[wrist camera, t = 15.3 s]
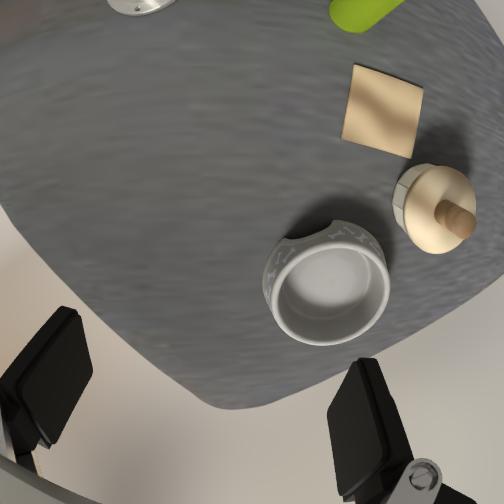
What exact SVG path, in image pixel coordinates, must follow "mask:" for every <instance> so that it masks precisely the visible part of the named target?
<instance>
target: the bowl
mask: <svg viewBox="0 0 504 504" xmlns="http://www.w3.org/2000/svg"><path fill="white" fill-rule="evenodd" d="M431 167H435V165H432V164H428V163H425V164H419V165H416V166H413V167H411V168H410V169H408V170H407V171H406V172H405V173H404V174H403V175H402V176H401V177H400V179H399V180H398V182H397V184H396V186H395V189H394V192H393V198H392V208H393V213H394V216H395V219H396V221H397V223H398V224H399V225H400V227H401V228H402V229H403V230H404V231H405V232H406V230H405V227H404V222H403V205H404V200H405V197H406V194H407V191H408V189H409V187H410V186H411V184H412V182H413V181H414V180H415V179H416V177H417V176H418V175H419V174H421V173H422V172H423V171H425V170H427V169H429V168H431ZM406 233H407V232H406Z"/></svg>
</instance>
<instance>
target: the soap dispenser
mask: <svg viewBox="0 0 504 504" xmlns="http://www.w3.org/2000/svg"><path fill="white" fill-rule="evenodd" d="M403 1H405V0H332V2H331V3H330V6H329V14H330V17H331V19H332V20H333V22H334V23H335V24H336V25H337V26H338V27H340V28H341V29H343V30H345V31H347V32H351V33H362V32H365V31H367V30H368V29H369V28H371V27H372V26H373V25H374V24H375V23H377V22H378V21H379V20H380V19H382V18H383V17H384V16H385V15H387V14H388V13H389V12H390V11H392V10H393V9H394V8H396V7H397V6H398V5H399V4H401V3H402V2H403Z"/></svg>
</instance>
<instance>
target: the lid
mask: <svg viewBox="0 0 504 504" xmlns="http://www.w3.org/2000/svg"><path fill="white" fill-rule="evenodd" d="M475 212H476V198H475V193H474V190H473V187H472V185H471V183H470V181H469V180H468V179H467V177H466V176H465V175H464V174H463V173H461V172H460V171H458V170H456V169H453V168H450V167H447V166H435V167H431V168H429V169H427V170H425V171H423V172H422V173H421V174H419V175H418V176H417V177H416V179H415V180H414V181H413V182H412V184H411V186H410V187H409V189H408V191H407V194H406V197H405V200H404V205H403V222H404V227H405V230H406V232H407V234H408V236H409V237H410V239H411V240H412V241H413V242H414V243H415V244H416V245H417V246H418V247H419V248H421V249H422V250H424V251H426V252H428V253H433V254H440V253H445V252H448V251H450V250H452V249H453V248H455V247H456V246H458V245H459V244H460V243H461V242H462V241H463V240H464V239H467V238H468V237H470V236H471V235H472V233H473V232H474V230H475V227H476V219H475Z"/></svg>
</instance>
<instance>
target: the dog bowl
mask: <svg viewBox="0 0 504 504" xmlns="http://www.w3.org/2000/svg"><path fill="white" fill-rule="evenodd" d="M262 284H263V292H264V296H265V299H266V301H267V303H268V306H269V307H270V309H271V311H272V313H273V316H274V318H275V320H276V322H277V323H278V325H279V326H280V327H281V328H282V330H283V331H284V332H286V333H287V334H288V335H289V336H291V337H292V338H294V339H296V340H298V341H301V342H304V343H307V344H312V345H334V344H339V343H343V342H346V341H349V340H351V339H353V338H355V337H357V336H359V335H361V334H362V333H364V332H365V331H366V330H368V329H369V328H370V327H371V326H372V325H373V324H374V323H375V322H376V321H377V320H378V318H379V317H380V316H381V314H382V313H383V311H384V309H385V307H386V305H387V302H388V299H389V295H390V277H389V273H388V269H387V265H386V261H385V257H384V253H383V251H382V248H381V246H380V245H379V243H378V242H377V240H376V239H375V238H374V237H373V236H372V235H371V234H370V233H369V232H368V231H367V230H365V229H364V228H362V227H360V226H358V225H356V224H353V223H350V222H347V221H342V220H333V221H332V223H331V225H330V226H329V227H328V228H326V229H324V230H322V231H320V232H317V233H315V234H312V235H310V236H307V237H304V238H300V239H293V240H290V239H287V238H283V239H282V240H281V241H280V242H279V243H278V244H277V245H276V246H275V248H274V249H273V251H272V252H271V254H270V256H269V258H268V260H267V263H266V265H265V269H264V273H263V281H262ZM362 309H363V310H362Z"/></svg>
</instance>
